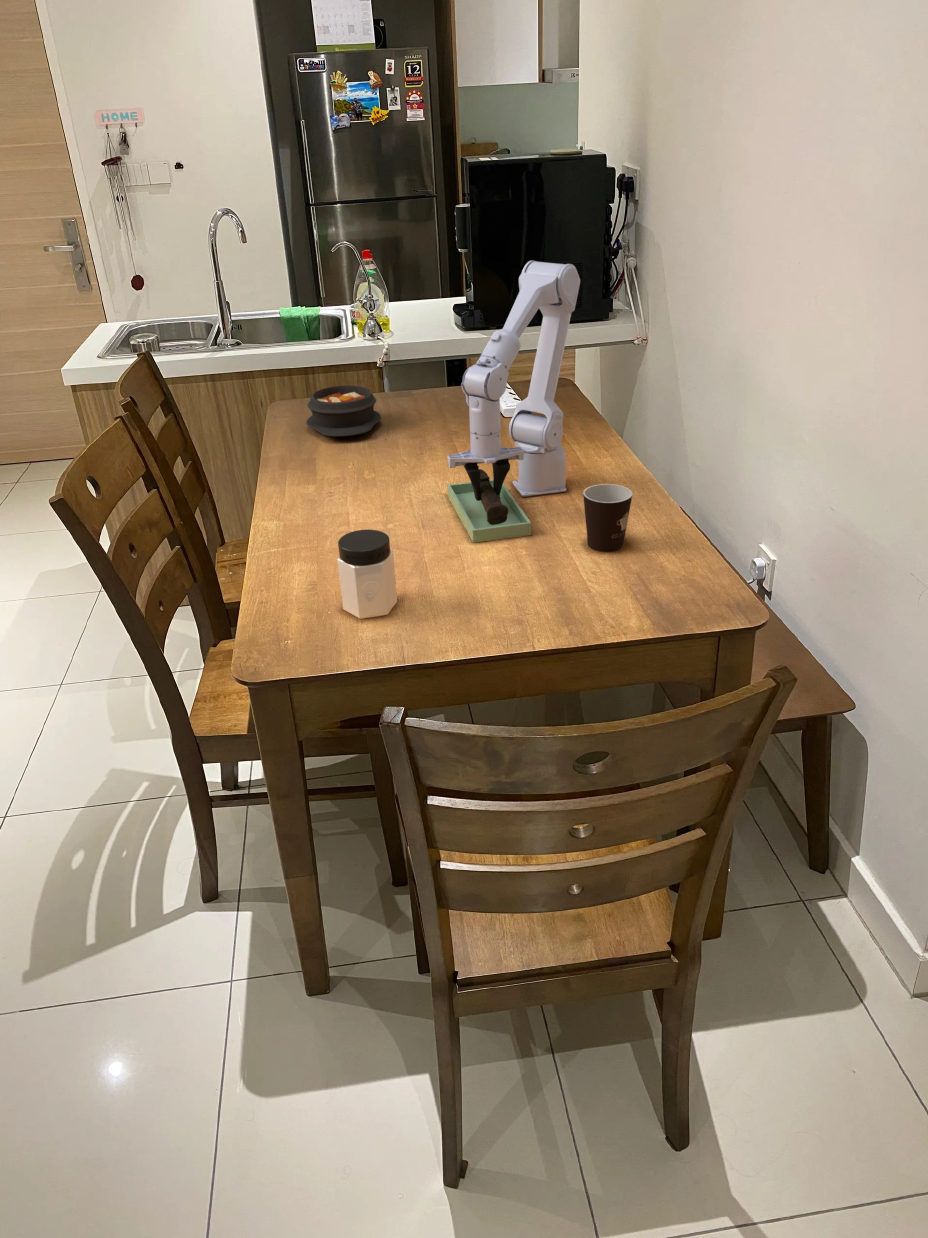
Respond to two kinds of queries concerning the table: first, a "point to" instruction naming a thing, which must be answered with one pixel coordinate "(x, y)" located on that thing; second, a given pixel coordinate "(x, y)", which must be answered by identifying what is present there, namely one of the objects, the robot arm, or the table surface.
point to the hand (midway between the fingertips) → (487, 497)
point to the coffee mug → (606, 516)
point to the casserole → (342, 411)
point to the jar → (366, 573)
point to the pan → (477, 516)
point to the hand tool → (491, 501)
